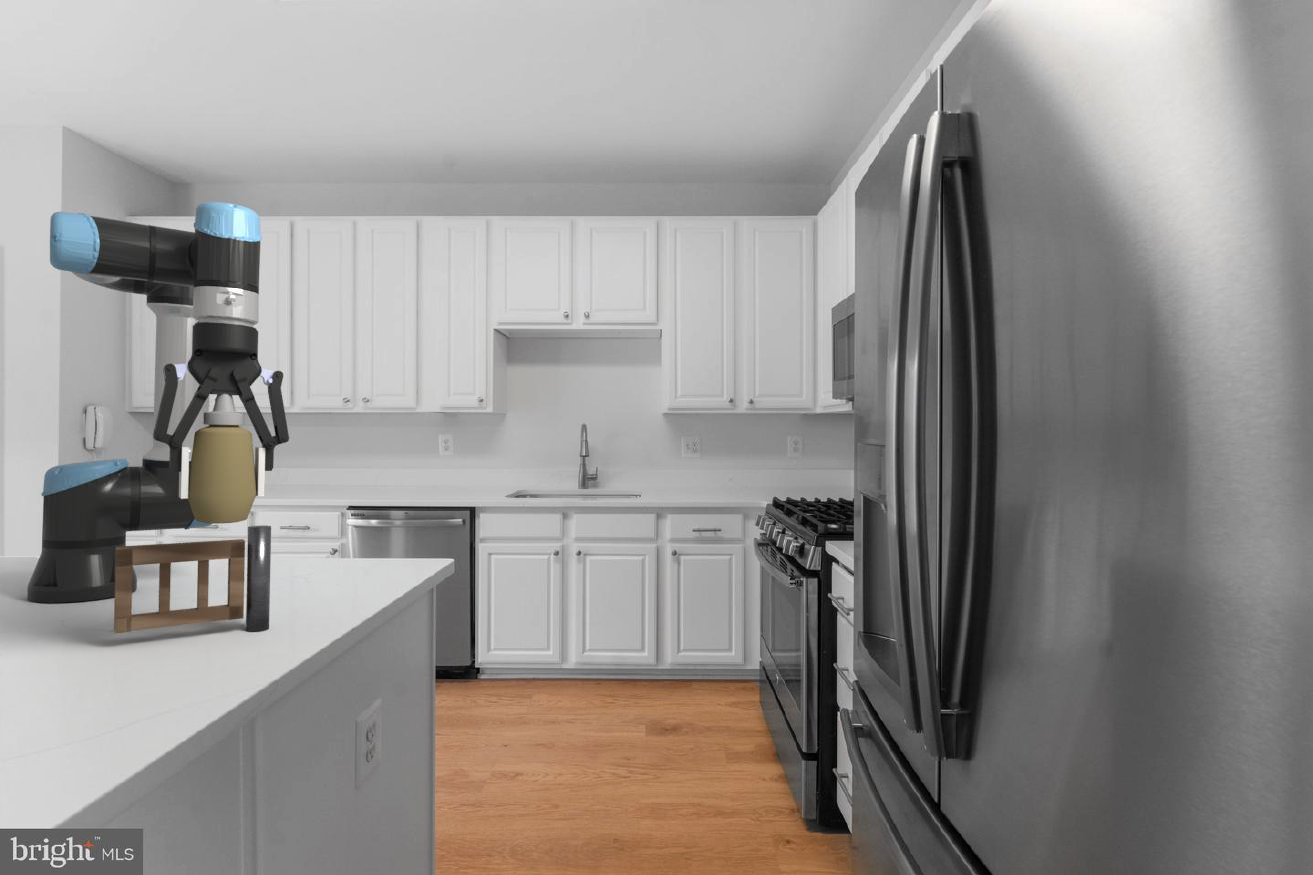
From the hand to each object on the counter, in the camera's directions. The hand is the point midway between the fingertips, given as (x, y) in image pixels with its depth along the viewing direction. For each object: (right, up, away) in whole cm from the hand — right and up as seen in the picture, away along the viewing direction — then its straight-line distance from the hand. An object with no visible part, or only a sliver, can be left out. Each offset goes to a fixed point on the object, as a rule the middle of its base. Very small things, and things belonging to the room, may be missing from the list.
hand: (222, 496), depth 98 cm
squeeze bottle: (0, -4, 0) cm, 4 cm away
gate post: (-1, -20, +10) cm, 23 cm away
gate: (-8, -18, +5) cm, 20 cm away
